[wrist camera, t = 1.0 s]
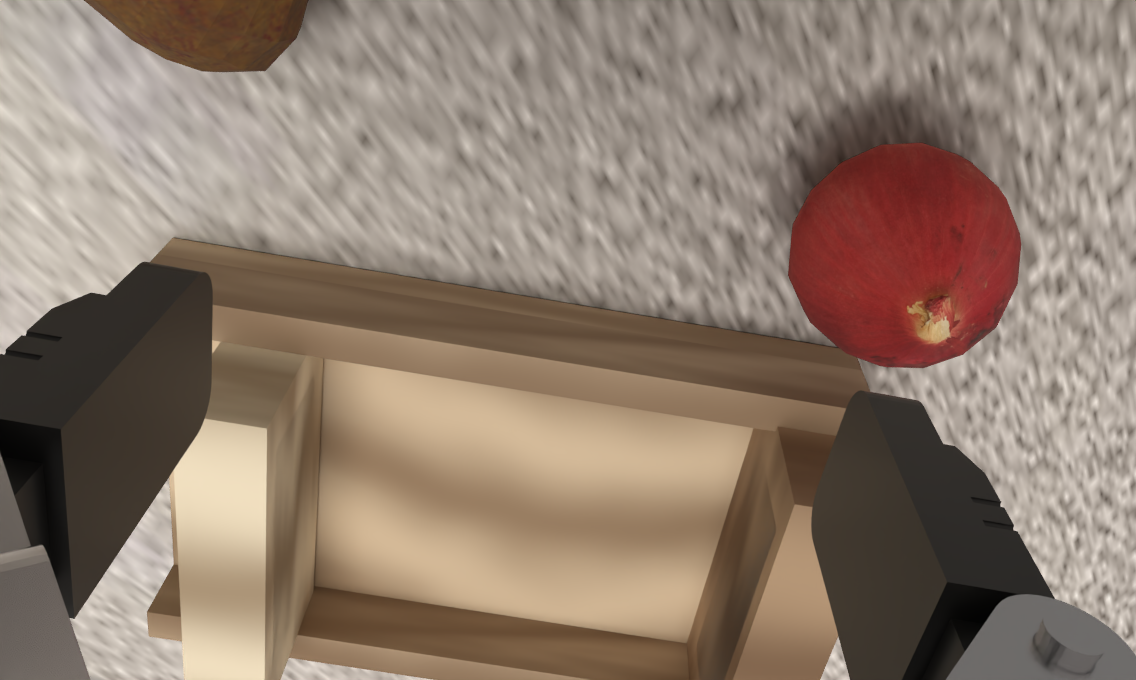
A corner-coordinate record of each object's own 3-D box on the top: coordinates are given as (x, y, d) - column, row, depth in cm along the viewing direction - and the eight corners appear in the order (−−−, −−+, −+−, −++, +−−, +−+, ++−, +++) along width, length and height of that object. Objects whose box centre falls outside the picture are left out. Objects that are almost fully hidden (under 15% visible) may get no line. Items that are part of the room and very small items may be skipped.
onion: (1013, 196, 30) (1131, 330, 23) (863, 323, 32) (928, 479, 25) (881, 65, 28) (965, 167, 21) (733, 209, 30) (764, 343, 23)
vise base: (173, 237, 32) (61, 355, 25) (854, 350, 32) (908, 491, 26) (187, 565, 39) (103, 720, 33) (747, 652, 40) (769, 819, 33)
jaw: (244, 307, 31) (170, 413, 26) (324, 320, 31) (267, 428, 26) (245, 581, 37) (185, 710, 32) (313, 591, 37) (264, 722, 32)
